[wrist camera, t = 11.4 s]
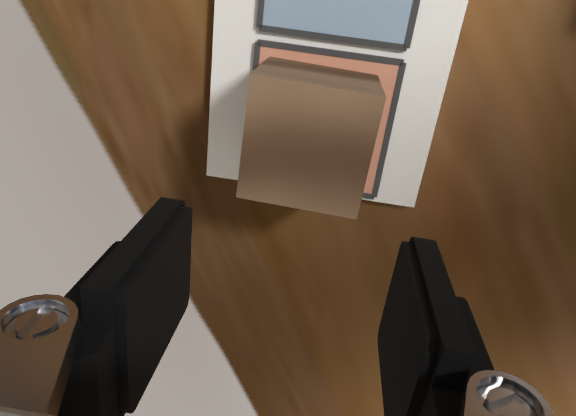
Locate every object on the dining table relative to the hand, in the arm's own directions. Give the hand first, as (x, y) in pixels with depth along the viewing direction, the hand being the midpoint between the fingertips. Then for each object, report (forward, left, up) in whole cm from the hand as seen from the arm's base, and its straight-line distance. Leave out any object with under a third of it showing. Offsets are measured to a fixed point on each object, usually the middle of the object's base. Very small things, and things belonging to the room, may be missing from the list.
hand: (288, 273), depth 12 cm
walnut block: (0, 0, -15) cm, 15 cm away
